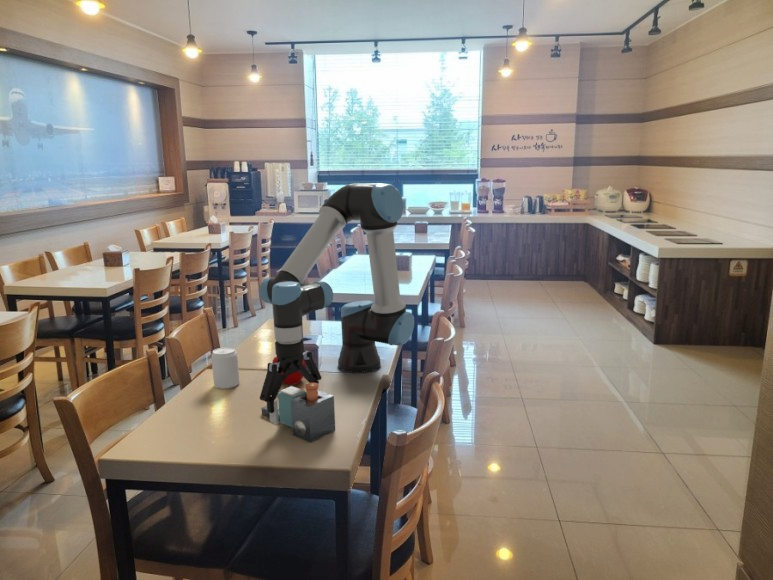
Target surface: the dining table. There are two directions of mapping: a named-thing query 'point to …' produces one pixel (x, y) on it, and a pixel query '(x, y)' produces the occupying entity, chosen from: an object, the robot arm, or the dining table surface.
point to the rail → (266, 413)
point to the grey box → (313, 416)
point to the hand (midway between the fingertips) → (293, 414)
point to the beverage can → (225, 367)
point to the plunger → (312, 391)
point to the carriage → (287, 403)
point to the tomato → (292, 375)
